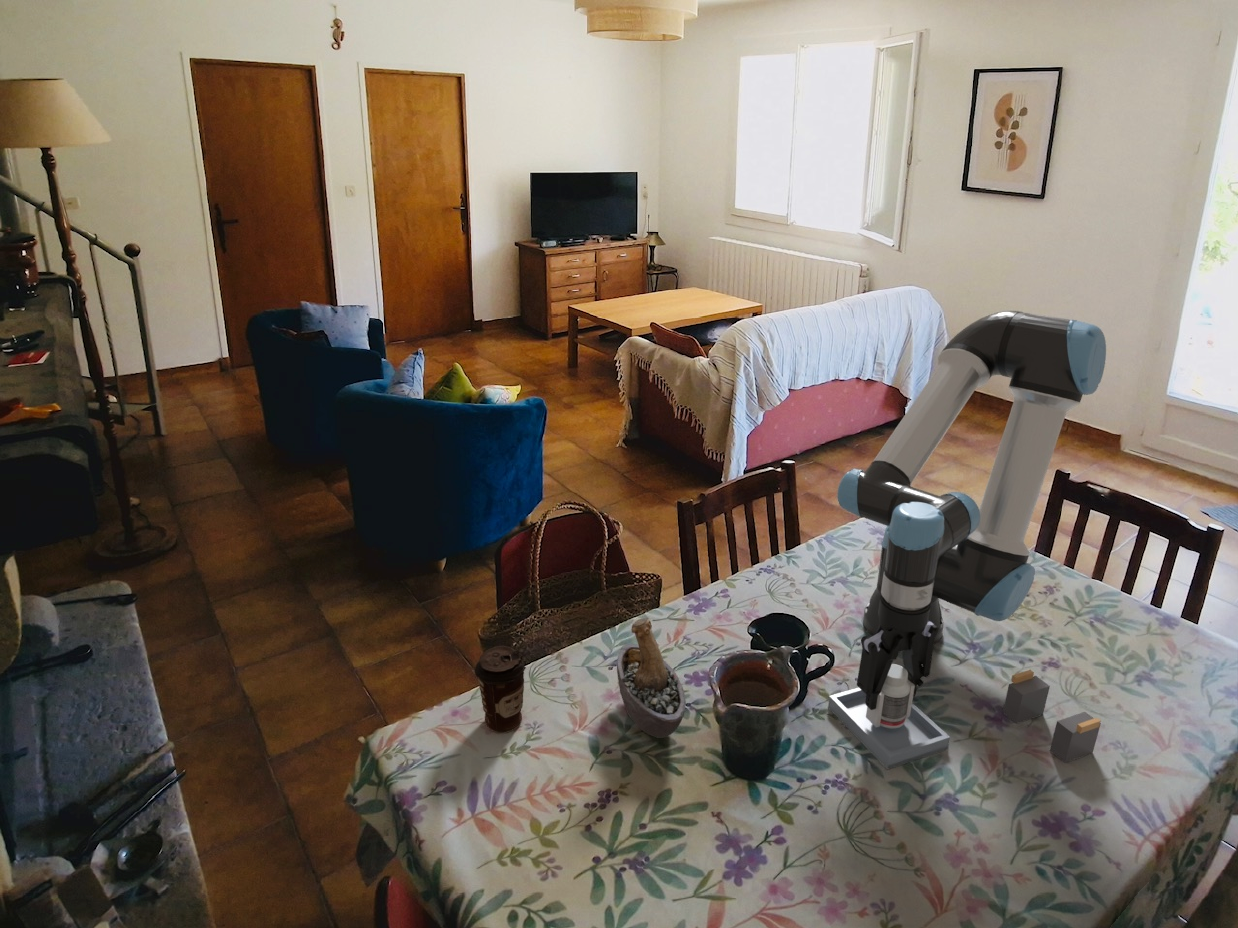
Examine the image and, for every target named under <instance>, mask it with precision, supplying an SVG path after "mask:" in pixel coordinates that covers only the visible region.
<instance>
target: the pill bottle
mask: <svg viewBox="0 0 1238 928" xmlns="http://www.w3.org/2000/svg"><path fill="white" fill-rule="evenodd" d="M907 680H908V672H907V670H906V669H905V668H904V666H902V665H900V664H896V663H892V665H891V667H890V670H889V672H888V675H887V677H886V680H885V682H884V685H883V688H882V690H881V692H882V693H883V694H884V701H883V708H882V715H881V722H880V726H882V727H885V728H890V729H895V728H899V727H901V726H902V725H903V724H904V723H905V718H906V712H907V705H908V699H909V693H910V685H909V683H908V682H907Z"/></svg>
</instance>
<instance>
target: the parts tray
mask: <svg viewBox="0 0 1238 928" xmlns="http://www.w3.org/2000/svg"><path fill="white" fill-rule="evenodd" d="M865 700H866V694H865V693H864V692H863V691H862V690H861V689H860V688H859V687H858V686H857V687H856V688H852V689H849V690H848V689H847V690H845V691H842V692H837V693H834V694H832V695H829V697H828V705H827V708H828V709H829V710H830V712H832V713H833V714H834V715H835V716H836V718H838V719H839V721H840V722H842V724H843V725H844V726H845V727H846V728H847V729H848V730H849V731H850V733H852V734H853V735H854V737H856V738H857V740H858V741H860V742H861V744H863V746H864V747H865V748H866V749H867V750H868V752H870V753H871V754H872V755H873V756H874V757H875V759H877V761H879V763H880V764H882V766H883V767H884V768H885V769H886V770H887V771H888V770H890V769H893V768H894V769H895V768H896V767H899V766H900V767H901V766H902V765H905V764H908V763H911V762H914V761H918V760H920V759H922V758H927V757H929V756H932V755H935V754H938V753H941V752H944V751H947V750H949V745H950V739H951V737H950V736H949V734H947V732H946V731H944V730H943V729H942V728H941V727H940V726H938V725H937V723H936V722H934V721H933V720H932V719H930V717H929V716H928V715H926V714H925V713H924V712H923V711H922V710H921V709H920V708H918V707H917V705H915V704H914V702H912V706H911V712H910V717H908V718H905V723H904V724H903V725H902V726H901V727H899V728H895V729H890V728H885V727H882V726H879V727H875V726H874V725H873V724H872V723H871V722H870V721H869V720H868V719H867V718H866V712H867V706H866V704H865Z"/></svg>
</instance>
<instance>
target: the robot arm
mask: <svg viewBox="0 0 1238 928" xmlns="http://www.w3.org/2000/svg"><path fill="white" fill-rule="evenodd" d="M1106 342H1107V341H1106V337H1105V334H1104V332H1103V330H1102V329H1101V328H1100V327H1099V326H1097V325H1095V324H1091V323H1088V322H1083V321H1079V320H1077V319H1069V318H1062V317H1055V316H1049V315H1048V316H1047V315H1042V314H1036V313H1035V314H1033V313H1028V312H1023V311H1019V310H1003V311H1002V310H1001V311H998V312H994V313H991V314H989V315H986V316H984V317H981V318H979V319H978V320H976V321H974V322H971V323H970V324H969V325H966V327H964V328H963V329H962V330H960V331H959V332H957V334H956V335H954V336H953V338H951V340H949V342H948V343H947V344H946V345H945V346H944V347H943V349H942V351H941V352H940V354H939V355H938V357H937V365H938V367H937V368H936V369H935V371H934V372H933V374H932V375H931V377H930V378H929V379H928V381H927V383H926V384H925V386H923V388H922V389H921V391H920V392H919V394H918V396H917V397H916V398H915V400H914V401H913V403H912V404H911V405H910V407H909V408H908V410H907V411H906V413H905V415H903V417H902V419H901V420H900V422H899V423H898V424H897V426H896V427H895V428H894V430H893V431H892V433H891V434H890V436H889V437H888V439H887V440H886V442H885V443H884V445H883V446H882V448H881V449H880V451H879V452H878V453H877V455H876V457H875V458H874V459H873V461H872V462H871V463H870V465H869V466H868V467H867V468H866V470H865V469H858V468H852V469H850V470H849V471H847V472H846V473H845V474H844V475H843V477H842V478H841V480H840V482H839V483H838V484H839V485H838V488H837V493H836V494H837V495H836V497H837V499H836V500H837V501H838V502H837V503H838V505H839V506H840V507H841V508H842V510H845V511H847V512H848V513H851V514H853V515H855V516H857V517H859V518H861V519H862V518H864V519H866V520H868V521H869V520H870V521H872V522H875V523H878V524H881V525H884V526H886V528H885V530H884V534H883V538H882V541H881V544H880V545H881V551H880V558H879V567H878V575H877V581H876V582H877V583H876V587H875V590H874V592H873V594H871V597H870V598H869V599H870V600H869V602H867V604H866V606H865V608H864V611H863V619H862V622H863V623H862V624H863V626H864V628H865V629H866V630H867V632H868V633H869V634H870V635H872V636H871V637H868V636H867V635H864V636H862V637H861V638H860V643H861V648H862V650H861V655H860V661H859V662H860V663H859V668H858V674H857V678H856V679H857V681H856V686H857V688H858V687H859V688H860V689H861V690H862V691H863V692H864V693H865V694H866V700H865V704H866V706H867V712H866V718H867V719H868V720H869V721H870V722H871V723H872V724H873V725H874V726H875V727H879V726H880V722H881V715H882V708H883V701H884V694H883V693H882V692H881V690H882V688H883V685H884V682H885V680H886V677H887V675H888V672H889V670H890V667H891V665H892V664H893V662H894V661H895V660H897V658H898V657H899V654H900V652H901V654H902V663H903V667H904V668H905V669H906V670H907V672H908V680H907V682H908V683H909V685H910V693H909V699H908V705H907V712H906V718H908V717H910V712H911V706H912V703H913V700H914V697H916V694H917V689H918V687H921V686H922V685H924V680H923V679H922V678H924V679H926V678H928V677H930V674H931V666H932V660H933V652H934V645H935V644H937V643H938V642H939V641H940V640H941V638H942V636H943V631H944V619H943V617H942V615H943V614H942V609H941V605H940V600H942V601H944V602H947V603H948V604H949V603H950V604H951V605H954V606H956V607H959V608H961V609H964V610H966V611H968V612H971V613H974V615H975V616H976V617H984V618H986V619H988V620H992V621H995V622H1001V621H1005V620H1007V619H1009V618H1010V617H1011V616H1013V615H1014V613H1016V611H1017V610H1018V609H1019V607H1020V606H1021V605H1022V604H1023V602H1024V601H1025V599H1026V597H1027V596H1028V594H1029V592H1030V590H1031V588H1032V585H1033V583H1034V580H1035V575H1036V570H1035V568H1034V566H1033V565H1031V563H1028V561H1029V556H1030V551H1029V549H1028V547H1027V545H1026V543H1025V539H1026V536H1027V532H1028V530H1029V526H1030V524H1031V520H1032V517H1033V514H1034V511H1035V509H1036V506H1037V503H1038V502H1037V501H1038V499H1039V496H1040V493H1041V490H1042V487H1043V484H1044V481H1045V479H1046V476H1047V475H1046V474H1047V472H1048V469H1049V466H1050V463H1051V460H1052V457H1053V454H1054V451H1055V448H1056V445H1057V442H1058V439H1059V436H1060V433H1061V430H1062V428H1063V425H1064V421H1065V419H1066V415H1067V413H1068V411H1070V410H1071V409H1074V408H1076V407H1077V406H1079V405H1080V404H1081V401H1082V398H1083V396H1085V395H1086V396H1090V395H1093V394H1094V393H1095V392H1096V391H1097V390H1098V387H1099V385H1100V383H1101V381H1102V380H1103V379H1102V378H1103V375H1104V370H1105V366H1106V356H1107V344H1106ZM994 376H1003V377H1005V378H1006V377H1007V378H1010V381H1009V384H1008V390H1009V391H1010V393H1011V394H1012V396H1013V399H1014V400H1013V402H1012V406H1011V409H1010V413H1009V416H1008V418H1007V421H1006V424H1005V428H1004V431H1003V433H1002V437H1001V440H1000V442H999V446H998V449H997V453H996V456H995V459H994V462H993V465H992V469H991V471H990V474H989V478H988V480H987V483H986V487H985V489H984V493H983V495H982V496H983V497H982V499H981V503H980V505H979V506H978V504H977V502H976V501H975V500H974V499H973V498H972V497H971V496H969V495H968V494H966V493H963V492H960V491H951V492H947V493H944V494H942V495H938V494H934V493H932V492H928V491H925V490H922V489H919V488H916V487H912V486H911V485H912V484H913V482H914V481H915V479H916V478H917V476H918V475H919V473H920V472H921V470H922V469H923V467H924V466H925V464H926V463H927V462H928V460H929V459H930V457H931V456H932V454H933V453H934V451H935V450H936V448H937V447H938V445H939V444H940V442H941V441H942V439H943V438H944V436H945V435H946V433H947V432H948V431H949V429H950V427H951V426H952V425H953V423H954V421H955V420H956V419H957V418H958V415H959V414H960V413H961V411H962V410H963V408H964V407H965V406H966V404H967V402H968V401H969V399H970V398H971V396H972V395H973V393H974V392H975V391H976V389H977V388H981V387H984V386H985V385H986V384H987V383H988V382H989V380H990V379H991V377H994ZM939 599H940V600H939Z"/></svg>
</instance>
